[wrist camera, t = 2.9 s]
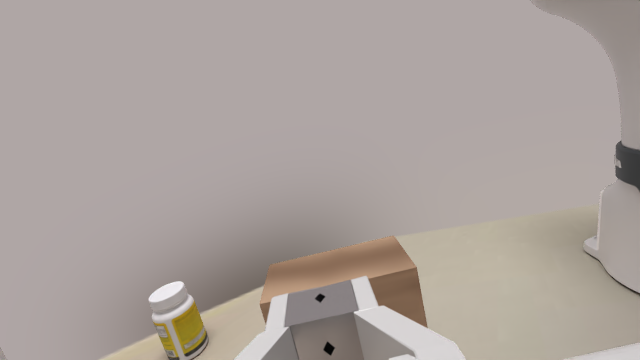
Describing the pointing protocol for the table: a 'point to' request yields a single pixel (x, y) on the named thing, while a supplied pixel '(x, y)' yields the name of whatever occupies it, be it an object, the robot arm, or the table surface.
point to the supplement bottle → (178, 322)
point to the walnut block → (353, 275)
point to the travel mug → (2, 355)
